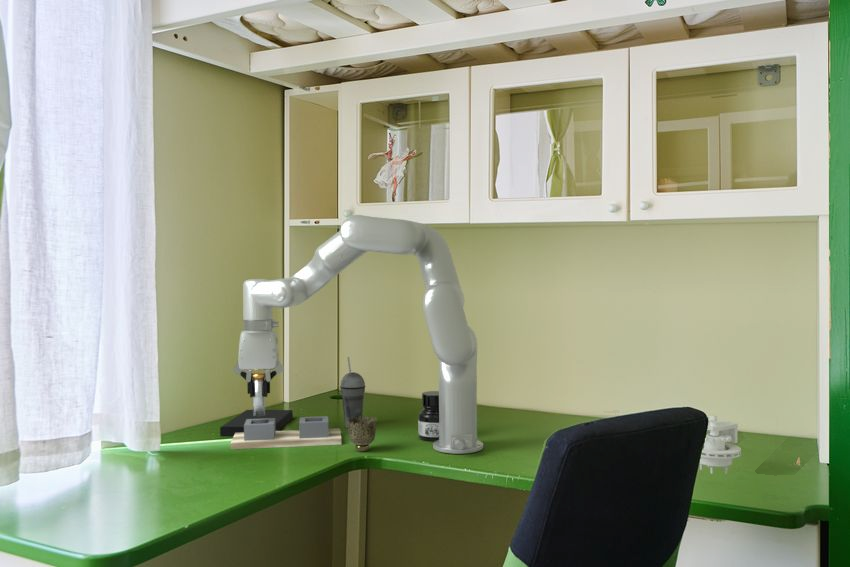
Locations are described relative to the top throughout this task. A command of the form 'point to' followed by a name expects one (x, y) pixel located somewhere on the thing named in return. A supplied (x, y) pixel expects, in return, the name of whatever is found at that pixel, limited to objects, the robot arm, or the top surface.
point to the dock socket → (259, 429)
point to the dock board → (286, 440)
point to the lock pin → (258, 394)
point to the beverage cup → (352, 395)
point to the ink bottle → (429, 416)
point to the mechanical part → (719, 444)
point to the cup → (362, 432)
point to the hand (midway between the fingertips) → (258, 395)
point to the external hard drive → (238, 422)
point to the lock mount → (313, 427)
